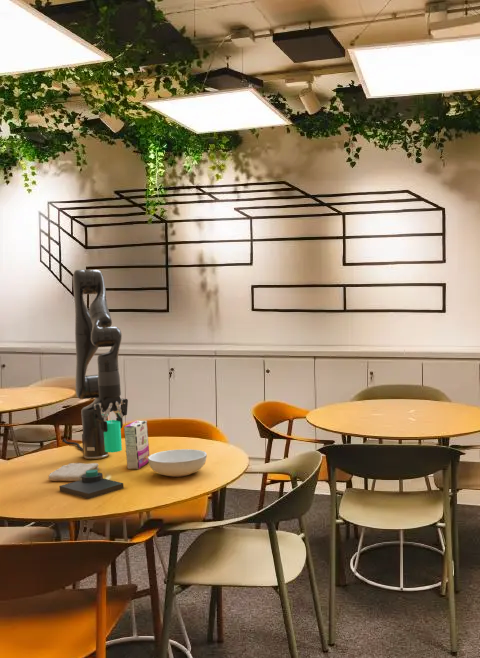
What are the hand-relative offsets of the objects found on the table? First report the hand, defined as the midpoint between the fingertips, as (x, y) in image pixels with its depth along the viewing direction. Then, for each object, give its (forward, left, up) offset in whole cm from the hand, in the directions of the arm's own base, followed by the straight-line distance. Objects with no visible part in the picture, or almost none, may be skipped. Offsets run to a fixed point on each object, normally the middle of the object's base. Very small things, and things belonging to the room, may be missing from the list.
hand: (112, 429), depth 241 cm
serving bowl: (+18, +14, -17) cm, 28 cm away
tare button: (+3, -12, -14) cm, 19 cm away
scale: (+8, -16, -17) cm, 25 cm away
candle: (0, 0, -8) cm, 8 cm away
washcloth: (-13, -8, -17) cm, 23 cm away
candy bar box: (-4, +14, -17) cm, 22 cm away
